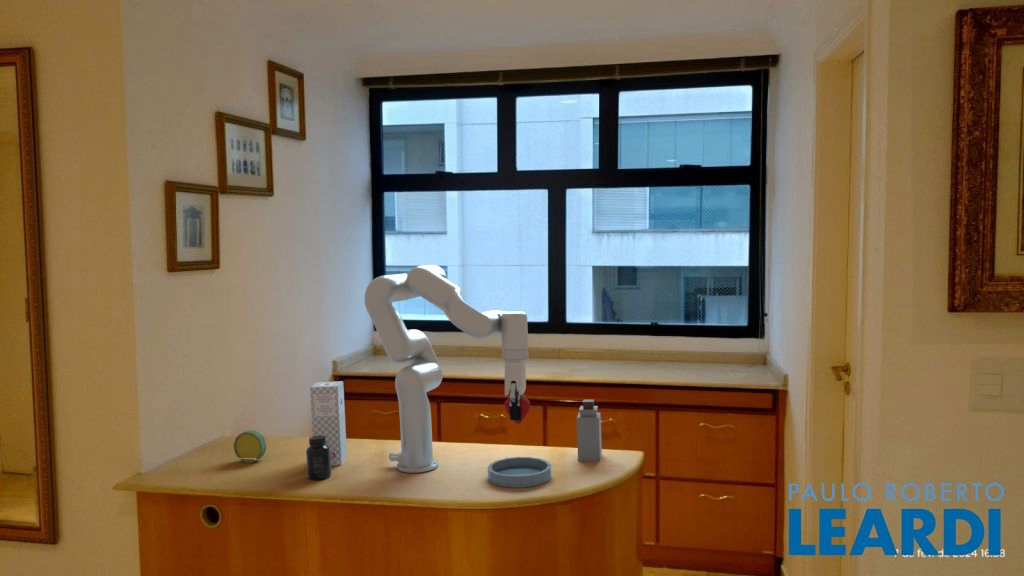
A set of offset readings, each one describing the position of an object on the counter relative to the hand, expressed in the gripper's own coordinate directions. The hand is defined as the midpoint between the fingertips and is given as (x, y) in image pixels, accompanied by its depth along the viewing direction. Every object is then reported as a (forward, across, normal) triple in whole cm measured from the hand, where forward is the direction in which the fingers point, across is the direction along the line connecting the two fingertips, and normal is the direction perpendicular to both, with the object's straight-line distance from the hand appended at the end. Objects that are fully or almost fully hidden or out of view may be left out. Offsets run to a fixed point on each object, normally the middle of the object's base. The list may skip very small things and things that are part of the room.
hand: (517, 416), depth 204 cm
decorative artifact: (+18, -13, -90) cm, 93 cm away
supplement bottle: (+18, +3, -60) cm, 63 cm away
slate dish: (+18, 0, 0) cm, 18 cm away
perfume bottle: (+18, -20, +19) cm, 33 cm away
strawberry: (+2, 0, 0) cm, 2 cm away
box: (+18, -12, -63) cm, 67 cm away
